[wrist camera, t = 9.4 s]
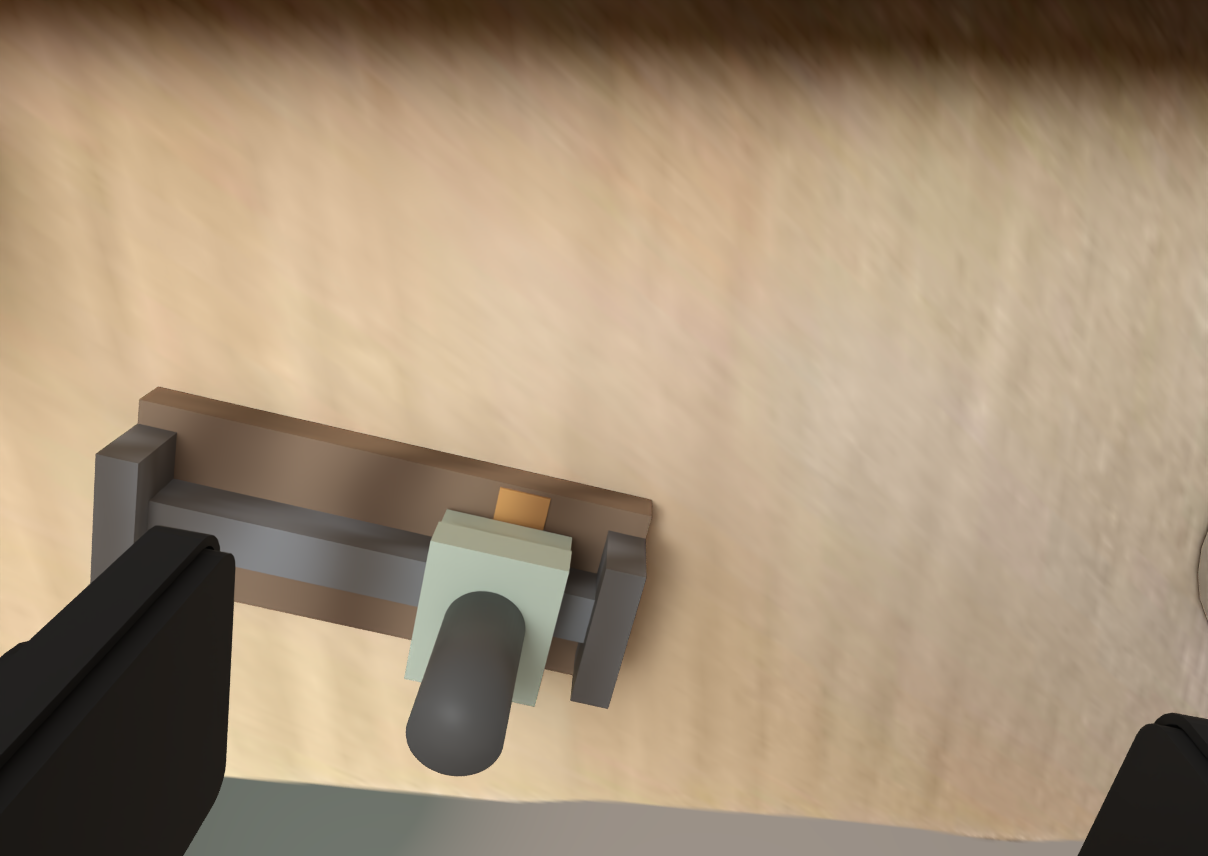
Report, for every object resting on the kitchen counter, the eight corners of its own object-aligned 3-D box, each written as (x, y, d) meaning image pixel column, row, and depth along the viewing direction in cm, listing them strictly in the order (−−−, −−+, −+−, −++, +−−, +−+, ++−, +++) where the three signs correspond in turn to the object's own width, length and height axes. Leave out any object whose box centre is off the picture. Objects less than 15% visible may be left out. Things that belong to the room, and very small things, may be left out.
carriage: (575, 526, 36) (555, 674, 28) (543, 652, 39) (515, 827, 30) (448, 497, 36) (388, 638, 27) (423, 626, 38) (360, 795, 30)
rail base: (651, 499, 38) (653, 554, 34) (605, 660, 41) (601, 729, 37) (158, 386, 37) (96, 428, 33) (146, 560, 40) (89, 618, 36)
